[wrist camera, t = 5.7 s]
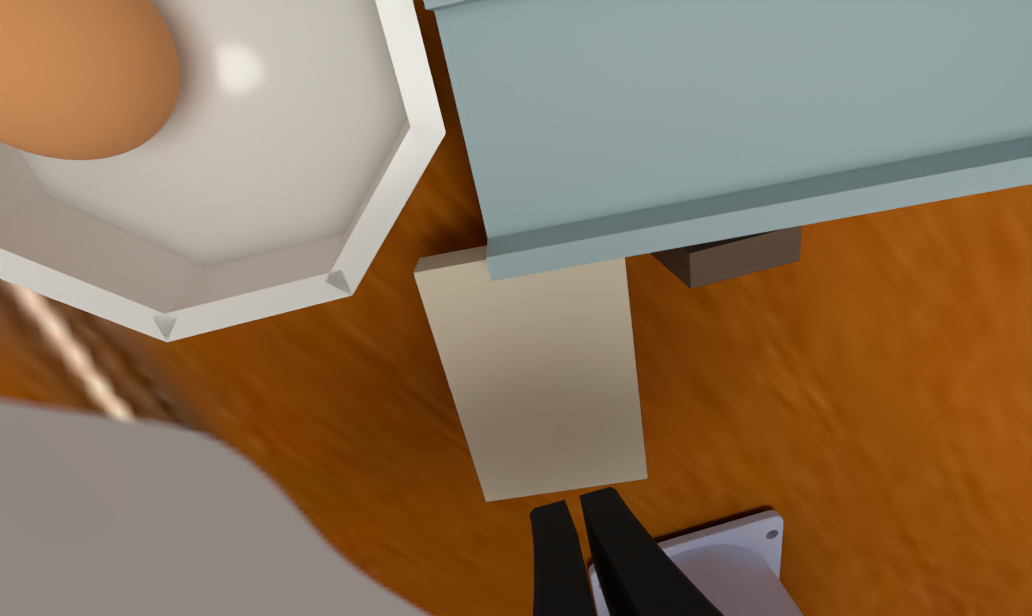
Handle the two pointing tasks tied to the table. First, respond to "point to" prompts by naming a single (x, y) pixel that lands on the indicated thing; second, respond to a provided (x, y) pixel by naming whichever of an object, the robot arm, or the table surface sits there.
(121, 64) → the ball
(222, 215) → the bowl
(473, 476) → the table surface
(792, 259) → the stand
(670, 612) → the robot arm
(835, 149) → the lever
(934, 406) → the table surface
